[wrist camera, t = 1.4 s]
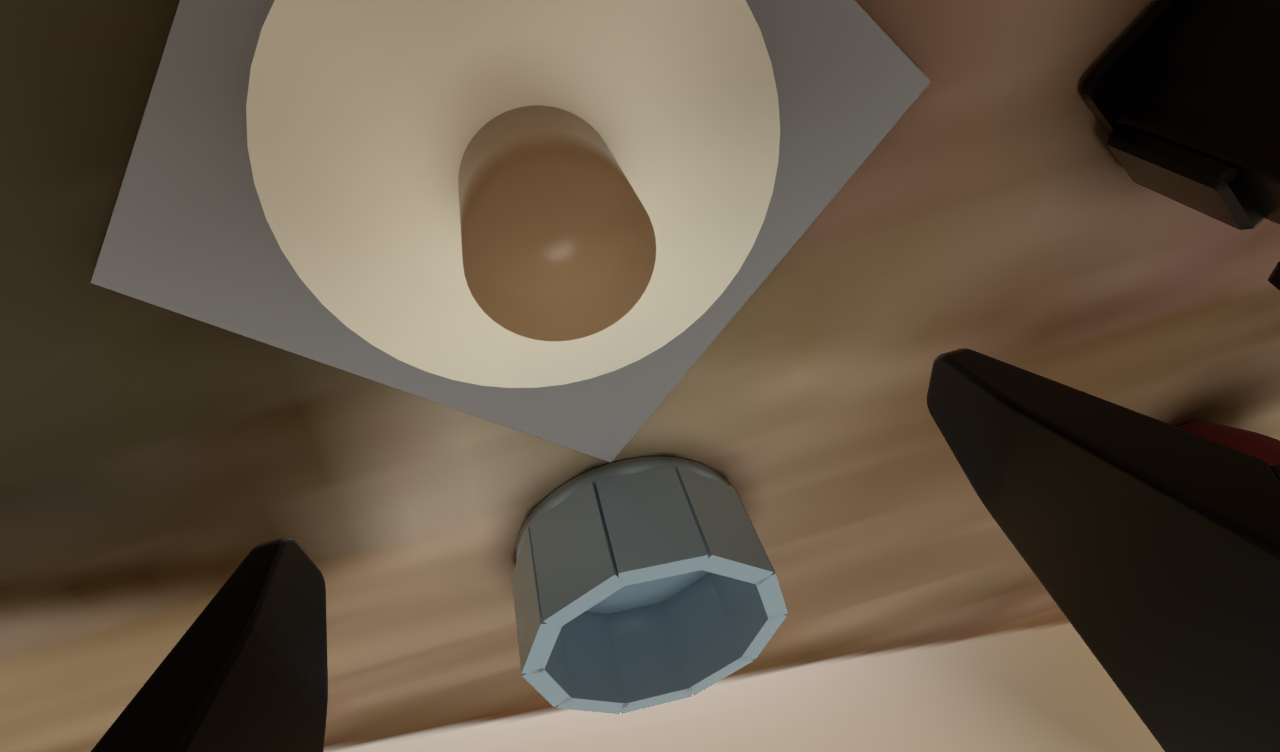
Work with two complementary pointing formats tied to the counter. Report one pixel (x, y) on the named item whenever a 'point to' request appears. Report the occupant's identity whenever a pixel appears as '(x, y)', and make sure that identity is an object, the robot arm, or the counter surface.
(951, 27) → the counter surface
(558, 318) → the lid
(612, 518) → the bowl
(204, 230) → the mat
